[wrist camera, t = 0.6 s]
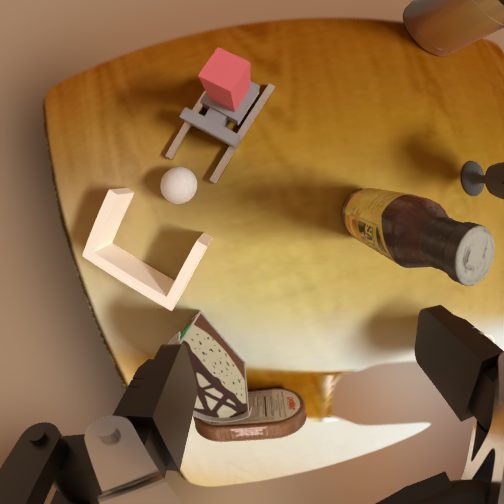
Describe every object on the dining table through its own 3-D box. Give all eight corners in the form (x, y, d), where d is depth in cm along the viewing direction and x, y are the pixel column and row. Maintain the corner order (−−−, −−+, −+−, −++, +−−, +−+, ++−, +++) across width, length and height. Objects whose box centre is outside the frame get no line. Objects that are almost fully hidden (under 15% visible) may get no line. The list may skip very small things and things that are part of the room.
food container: (157, 325, 37) (132, 367, 28) (193, 300, 37) (175, 341, 27) (216, 388, 40) (208, 438, 30) (251, 369, 39) (252, 419, 29)
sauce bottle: (329, 220, 34) (416, 267, 15) (359, 177, 33) (468, 180, 14) (370, 250, 35) (469, 318, 16) (397, 209, 34) (513, 242, 15)
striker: (217, 72, 29) (204, 33, 20) (266, 97, 30) (273, 65, 20) (184, 121, 31) (159, 99, 21) (234, 148, 31) (228, 134, 22)
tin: (200, 405, 41) (192, 445, 32) (195, 389, 40) (186, 430, 32) (301, 396, 40) (310, 436, 32) (301, 380, 40) (310, 420, 31)
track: (225, 63, 30) (224, 60, 29) (274, 88, 31) (275, 86, 30) (167, 156, 33) (165, 156, 32) (216, 183, 33) (215, 183, 33)
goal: (126, 187, 33) (108, 189, 28) (212, 237, 35) (207, 246, 30) (101, 246, 35) (82, 255, 30) (181, 294, 36) (171, 311, 32)
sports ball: (199, 166, 33) (192, 164, 29) (200, 201, 34) (194, 204, 30) (165, 168, 33) (155, 167, 29) (166, 203, 34) (156, 206, 30)
